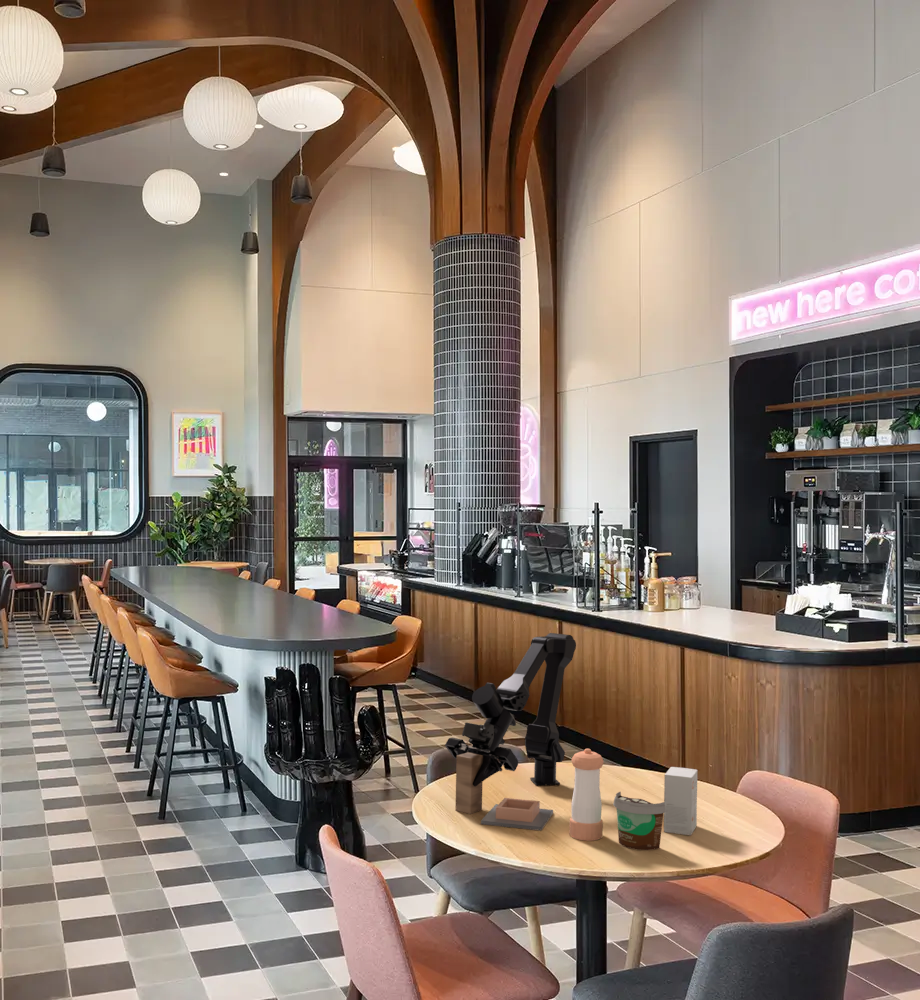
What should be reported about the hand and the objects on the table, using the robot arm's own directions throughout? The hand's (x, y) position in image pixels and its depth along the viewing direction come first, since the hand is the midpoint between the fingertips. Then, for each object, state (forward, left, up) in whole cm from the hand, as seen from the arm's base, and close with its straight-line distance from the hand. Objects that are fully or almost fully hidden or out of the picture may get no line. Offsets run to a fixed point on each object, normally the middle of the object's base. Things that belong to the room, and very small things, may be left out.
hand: (465, 783), depth 248 cm
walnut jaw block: (-1, +1, -7) cm, 7 cm away
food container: (+29, +31, -7) cm, 43 cm away
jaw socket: (+7, +11, -7) cm, 15 cm away
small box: (+19, +46, -7) cm, 50 cm away
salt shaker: (+21, +23, -7) cm, 32 cm away
